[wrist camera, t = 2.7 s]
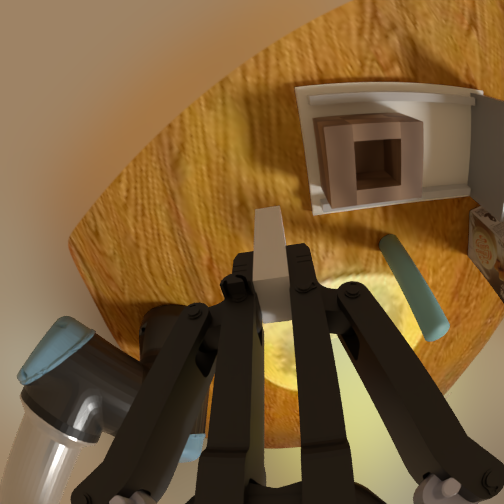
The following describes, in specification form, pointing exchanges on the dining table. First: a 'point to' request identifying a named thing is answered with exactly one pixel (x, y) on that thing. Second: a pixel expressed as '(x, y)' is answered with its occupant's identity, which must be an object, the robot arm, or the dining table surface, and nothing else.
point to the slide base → (435, 137)
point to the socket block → (369, 158)
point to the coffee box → (487, 247)
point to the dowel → (414, 289)
